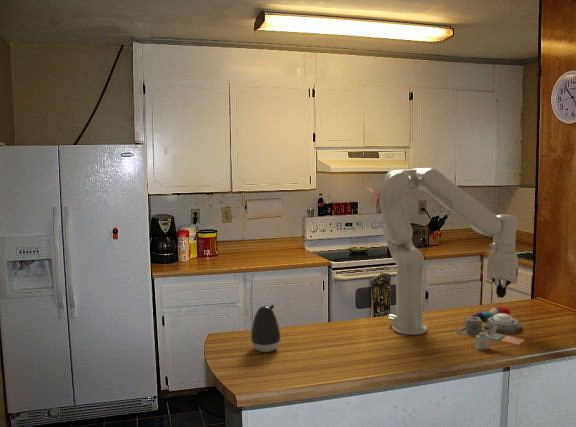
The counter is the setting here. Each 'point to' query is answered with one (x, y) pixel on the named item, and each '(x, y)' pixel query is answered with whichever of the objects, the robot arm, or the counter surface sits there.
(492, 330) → the lighter
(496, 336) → the sorting mat
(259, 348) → the pump dispenser
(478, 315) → the toy figure
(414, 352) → the counter surface
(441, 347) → the counter surface
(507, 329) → the dome base
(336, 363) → the counter surface
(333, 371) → the counter surface
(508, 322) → the dome
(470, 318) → the dice cube
